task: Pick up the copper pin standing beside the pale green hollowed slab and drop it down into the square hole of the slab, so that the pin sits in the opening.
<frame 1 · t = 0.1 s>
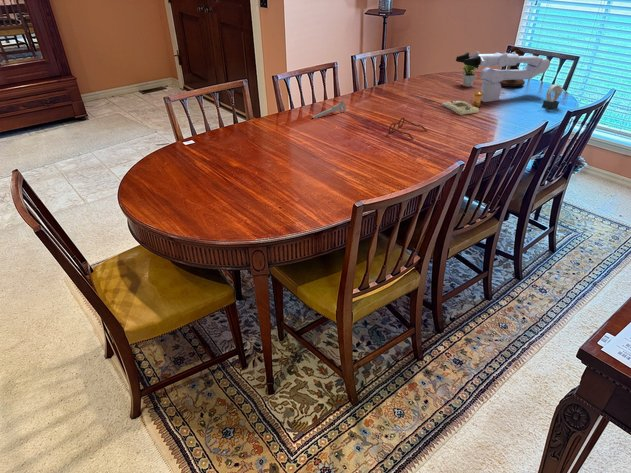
hand: (460, 60, 217), 22 cm above the table, tool horizontal, fingers open, 7 cm apart
brown carved statue: (510, 85, 254), on the table
pale green hollowed slab: (459, 108, 222), on the table
house plant: (469, 86, 256), on the table
pin: (475, 106, 223), on the table
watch: (549, 107, 218), on the table
glasses: (407, 133, 197), on the table
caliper: (328, 116, 221), on the table
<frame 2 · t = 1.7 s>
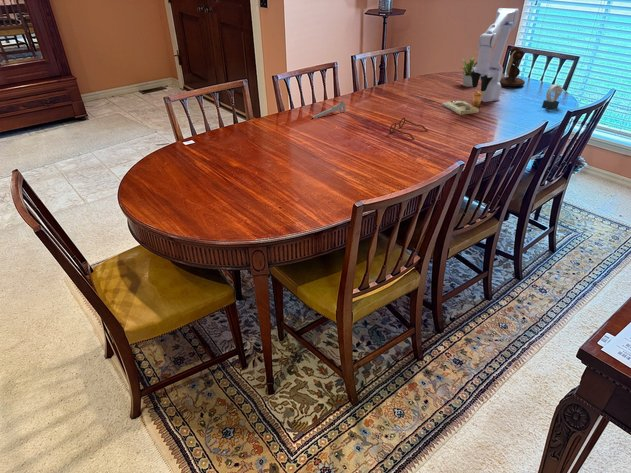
hand: (478, 89, 218), 9 cm above the table, tool pointing down, fingers open, 7 cm apart
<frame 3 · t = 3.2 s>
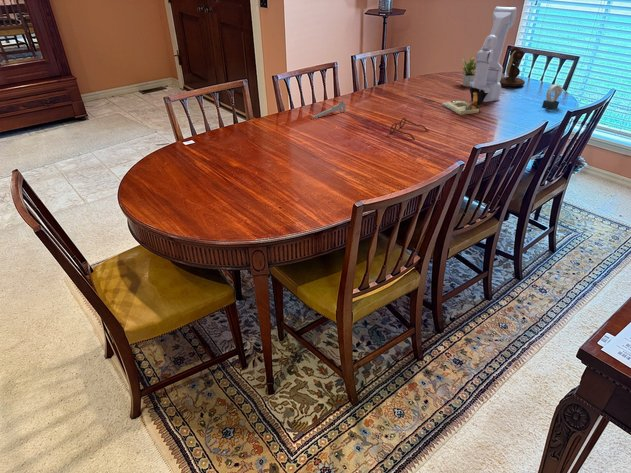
hand: (476, 103, 222), 2 cm above the table, tool pointing down, fingers closed on pin, 5 cm apart
pin: (475, 106, 223), on the table, touching gripper
everything else where it was.
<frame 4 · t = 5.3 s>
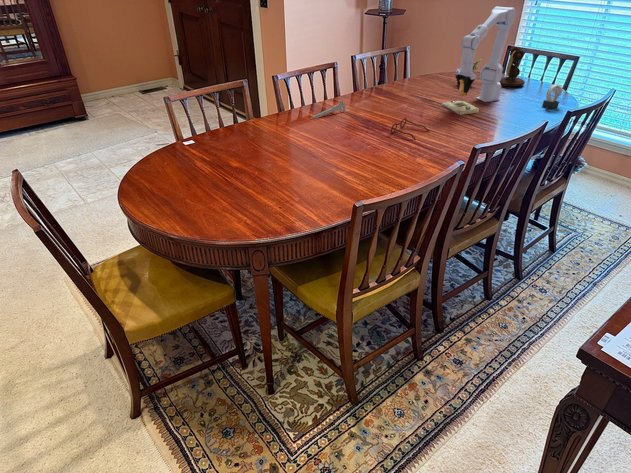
hand: (463, 91, 217), 9 cm above the table, tool pointing down, fingers closed on pin, 5 cm apart
pin: (462, 94, 218), point 7 cm above the table, touching gripper
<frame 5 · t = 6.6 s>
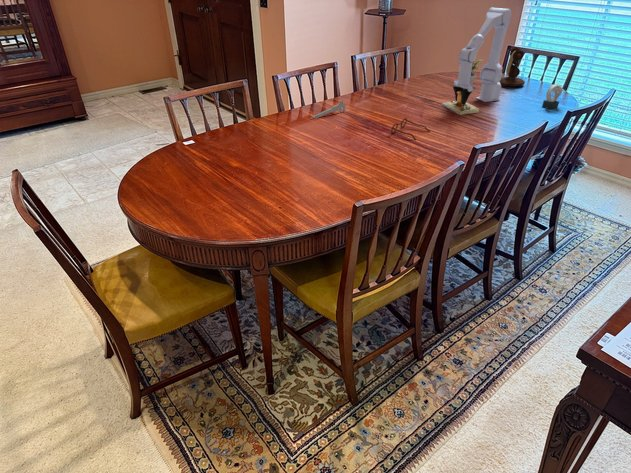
hand: (460, 102, 220), 3 cm above the table, tool pointing down, fingers closed on pin, 5 cm apart
pin: (460, 105, 221), point 1 cm above the table, touching gripper
when the fingers open (3 cm above the table, at t = 7.6 s): pin drops 1 cm, resting in pale green hollowed slab.
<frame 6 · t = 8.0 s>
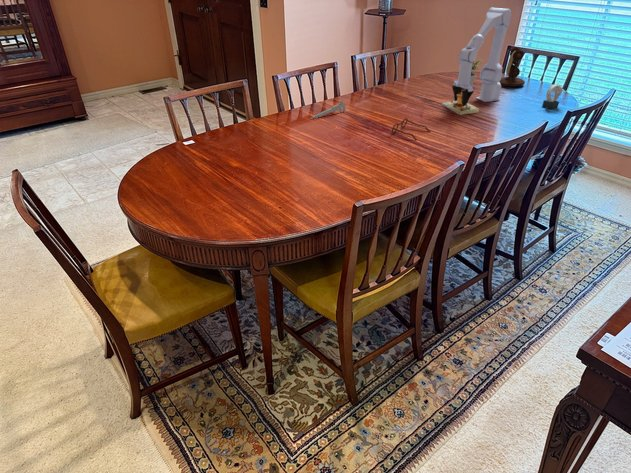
hand: (460, 102, 220), 3 cm above the table, tool pointing down, fingers open, 7 cm apart
pin: (459, 108, 222), resting in pale green hollowed slab
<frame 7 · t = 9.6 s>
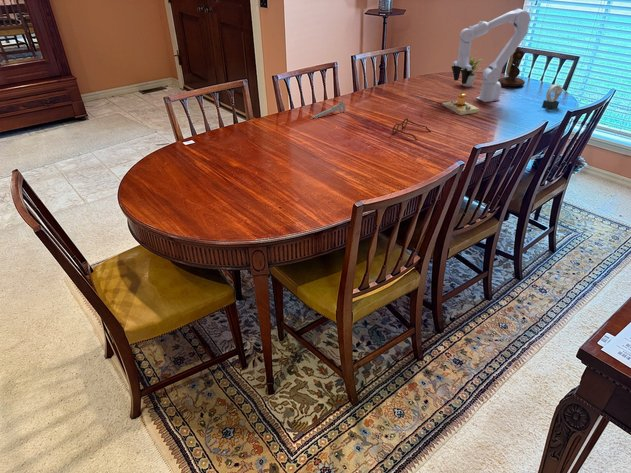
hand: (459, 81, 229), 9 cm above the table, tool pointing down, fingers open, 7 cm apart
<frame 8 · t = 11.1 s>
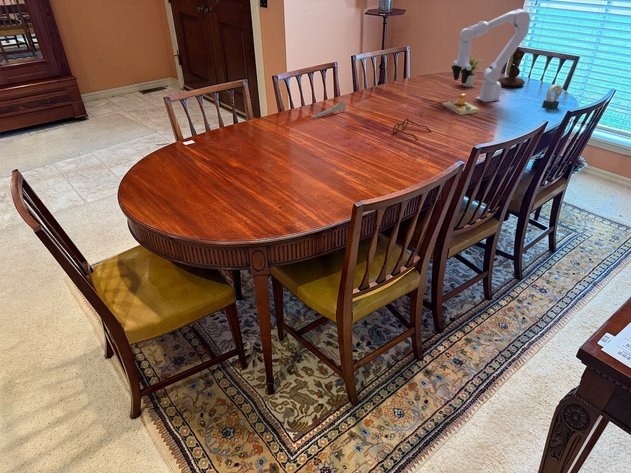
hand: (459, 81, 230), 9 cm above the table, tool pointing down, fingers open, 7 cm apart
at the end: pin 0.1 cm off-centre on the pale green hollowed slab, point 0.0 cm above the pale green hollowed slab's base; pin tilted 0°; the gripper is holding nothing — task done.
